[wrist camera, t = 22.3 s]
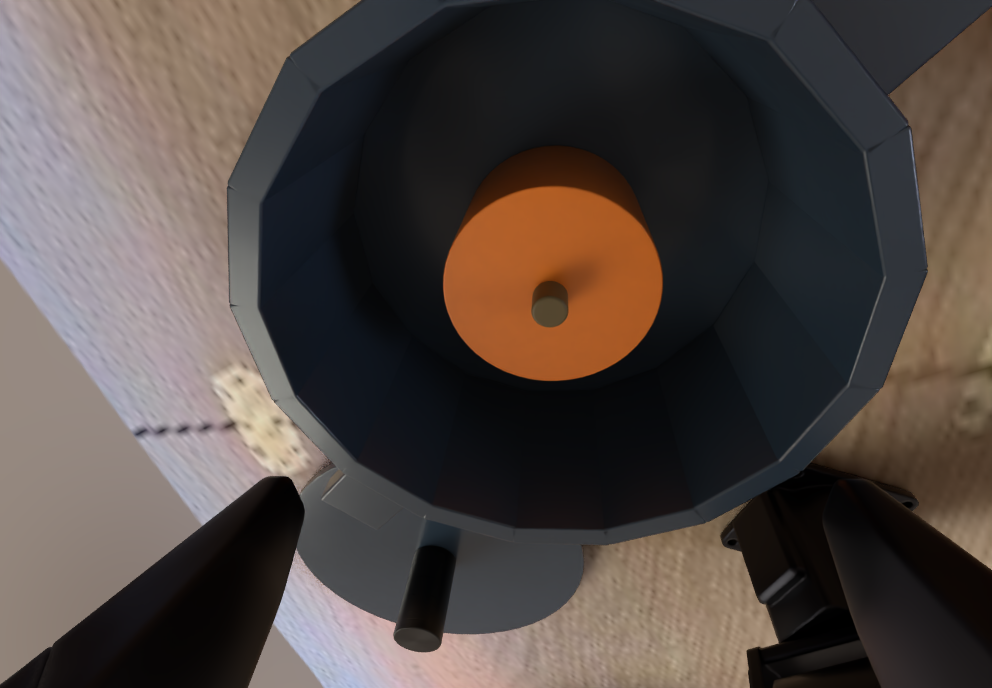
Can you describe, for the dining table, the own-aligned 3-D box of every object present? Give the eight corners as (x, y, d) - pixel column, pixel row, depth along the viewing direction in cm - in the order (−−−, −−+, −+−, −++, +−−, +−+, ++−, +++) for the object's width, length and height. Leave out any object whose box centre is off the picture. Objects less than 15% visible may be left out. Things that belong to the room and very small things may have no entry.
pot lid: (646, 545, 28) (664, 653, 23) (467, 643, 36) (453, 738, 31) (395, 382, 23) (354, 476, 19) (254, 537, 31) (201, 629, 27)
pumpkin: (673, 178, 17) (716, 243, 12) (600, 330, 20) (612, 424, 16) (491, 119, 16) (465, 164, 12) (449, 285, 20) (416, 368, 15)
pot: (973, 143, 16) (1248, 236, 9) (526, 476, 26) (515, 625, 20) (610, -337, 11) (674, -767, 5) (245, 294, 21) (116, 413, 15)
